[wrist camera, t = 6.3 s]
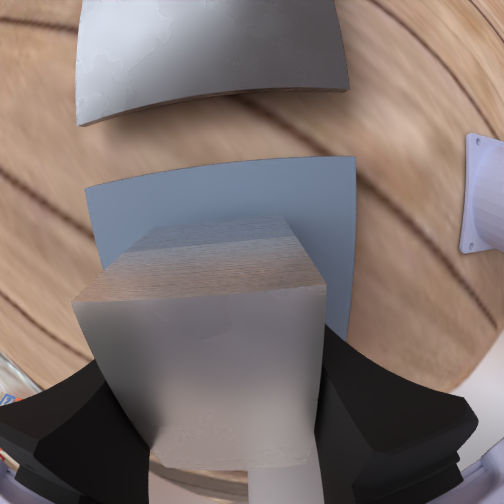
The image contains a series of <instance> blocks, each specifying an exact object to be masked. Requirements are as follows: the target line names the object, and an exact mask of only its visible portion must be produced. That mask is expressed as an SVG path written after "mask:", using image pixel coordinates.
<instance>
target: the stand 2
mask: <svg viewBox="0 0 504 504" xmlns="http://www.w3.org/2000/svg"><path fill="white" fill-rule="evenodd" d="M85 194H86V200H87V205H88V210H89V215H90V219H91V224H92V228H93V232H94V237H95V241H96V245H97V248H98V252H99V256H100V259H101V263H102V266H103V270H105V269H106V268H107V267H108V266H109V265H110V264H111V263H112V262H113V261H115V260H116V259H117V258H118V257H119V256H120V255H121V254H122V253H124V252H125V251H126V250H127V249H128V248H129V247H131V246H132V245H133V244H134V243H135V242H136V241H138V240H139V239H140V238H141V237H142V236H143V235H145V234H146V233H147V232H148V231H149V230H151V229H152V228H154V227H162V226H170V225H178V224H186V223H195V222H204V221H213V220H223V219H233V218H243V217H254V216H265V215H276V214H281V215H282V217H283V218H284V220H285V221H286V223H287V224H288V225H289V227H290V228H291V230H292V231H293V233H294V234H295V236H296V237H297V239H298V240H299V242H300V244H301V245H302V247H303V248H304V250H305V251H306V253H307V254H308V256H309V257H310V259H311V260H312V262H313V264H314V265H315V267H316V268H317V270H318V271H319V273H320V274H321V276H322V278H323V279H324V281H325V282H326V284H327V286H326V311H325V324H326V325H327V326H328V327H329V328H331V329H332V330H333V331H334V332H335V333H336V334H337V335H338V336H339V337H341V338H342V339H343V340H344V341H345V342H346V337H347V329H348V322H349V313H350V304H351V295H352V284H353V271H354V256H355V235H356V162H355V157H353V156H314V157H290V158H273V159H260V160H248V161H238V162H228V163H219V164H211V165H203V166H196V167H189V168H182V169H176V170H169V171H163V172H158V173H152V174H146V175H141V176H136V177H131V178H126V179H121V180H117V181H112V182H108V183H103V184H99V185H95V186H91V187H88V188H85Z"/></svg>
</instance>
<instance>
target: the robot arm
mask: <svg viewBox="0 0 504 504" xmlns="http://www.w3.org/2000/svg"><path fill="white" fill-rule="evenodd" d="M476 140H477V143H476ZM469 245H470V246H469ZM490 249H497V250H499V251H501V252H503V253H504V142H503V141H499V140H496V139H493V138H489V137H486V136H482V135H478V134H475V133H468V134H467V136H466V190H465V204H464V215H463V224H462V231H461V238H460V245H459V250H460V251H461V252H462V253H463V254H467V253H473V252H479V251H485V250H490ZM477 426H478V418H477V416H476V415H475V413H474V412H473V410H472V409H471V407H470V406H469V404H468V403H467V401H466V400H465V399H464V397H459V396H455V395H451V394H447V393H443V392H439V391H436V390H432V389H430V388H427V387H424V386H421V385H418V384H416V383H413V382H411V381H409V380H406V379H404V378H402V377H400V376H398V375H396V374H394V373H392V372H390V371H388V370H386V369H384V368H383V367H381V366H379V365H378V364H376V363H374V362H373V361H371V360H370V359H368V358H366V357H365V356H363V355H362V354H361V353H359V352H358V351H357V350H355V349H354V348H353V347H351V346H350V345H349V344H348V343H346V342H345V341H344V340H343V339H342V338H341V337H339V336H338V335H337V334H336V333H335V332H334V331H333V330H332V329H331V328H329V327H328V326H327V325H326V324H325V329H324V343H323V356H322V367H321V377H320V387H319V395H318V404H317V411H316V419H315V426H314V436H315V442H316V447H317V453H318V460H319V466H320V473H321V480H322V488H323V496H324V504H504V438H502V439H501V440H500V441H499V442H497V443H496V444H495V445H494V446H493V447H492V448H490V449H489V450H488V451H487V452H486V453H485V454H484V455H483V456H482V457H481V459H479V460H478V461H476V462H475V463H473V464H472V465H470V466H469V467H467V468H466V469H464V470H463V471H461V472H460V470H459V469H458V466H457V464H456V463H457V462H459V461H460V457H459V455H458V453H457V450H458V449H459V448H460V447H461V446H462V445H463V444H464V443H465V442H466V440H468V438H469V437H470V436H471V435H472V433H473V432H474V431H475V430H476V428H477ZM0 448H1V449H2V450H3V451H4V452H5V453H7V454H8V455H9V456H10V457H11V458H12V459H13V460H14V461H16V462H17V463H18V464H19V468H18V470H17V472H16V471H15V470H13V469H12V468H10V467H9V466H7V464H6V463H5V462H3V461H2V460H1V459H0V504H149V496H148V472H149V456H150V448H149V446H148V445H147V444H146V442H145V441H144V440H143V438H142V437H141V435H140V434H139V432H138V431H137V430H136V428H135V427H134V425H133V424H132V422H131V421H130V419H129V418H128V416H127V415H126V413H125V411H124V410H123V408H122V407H121V405H120V403H119V402H118V400H117V398H116V397H115V395H114V393H113V392H112V390H111V388H110V386H109V385H108V383H107V381H106V379H105V377H104V375H103V373H102V372H101V370H100V368H99V366H98V364H97V362H96V360H95V359H94V360H93V361H92V362H90V363H89V364H88V365H86V366H85V367H84V368H82V369H81V370H79V371H78V372H76V373H75V374H73V375H72V376H70V377H69V378H67V379H65V380H64V381H62V382H60V383H58V384H56V385H54V386H53V387H51V388H49V389H47V390H45V391H43V392H40V393H38V394H36V395H33V396H31V397H28V398H26V399H23V400H20V401H17V402H13V403H10V404H6V405H2V406H0Z"/></svg>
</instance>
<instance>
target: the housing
mask: <svg viewBox="0 0 504 504" xmlns="http://www.w3.org/2000/svg"><path fill="white" fill-rule="evenodd" d="M326 286H327V284H326V282H325V281H324V279H323V278H322V276H321V274H320V273H319V271H318V270H317V268H316V267H315V265H314V264H313V262H312V260H311V259H310V257H309V256H308V254H307V253H306V251H305V250H304V248H303V247H302V245H301V244H300V242H299V240H298V239H297V237H296V236H295V234H294V233H293V231H292V230H291V228H290V227H289V225H288V224H287V223H286V221H285V220H284V218H283V217H282V215H281V214H276V215H265V216H254V217H243V218H233V219H223V220H213V221H204V222H195V223H186V224H178V225H170V226H162V227H154V228H152V229H151V230H149V231H148V232H147V233H146V234H145V235H143V236H142V237H141V238H140V239H139V240H138V241H136V242H135V243H134V244H133V245H132V246H131V247H129V248H128V249H127V250H126V251H125V252H124V253H122V254H121V255H120V256H119V257H118V258H117V259H116V260H115V261H113V262H112V263H111V264H110V265H109V266H108V267H107V268H106V269H105V270H104V271H102V272H101V273H100V274H99V275H98V276H97V277H96V278H95V279H94V280H93V281H92V282H91V283H90V284H89V285H88V286H87V287H86V288H84V289H83V290H82V291H81V292H80V293H79V294H78V295H77V296H76V297H75V298H74V299H73V300H72V301H71V304H72V307H73V310H74V312H75V315H76V317H77V320H78V322H79V325H80V327H81V329H82V332H83V334H84V336H85V339H86V341H87V343H88V345H89V347H90V349H91V352H92V354H93V356H94V358H95V360H96V362H97V364H98V366H99V368H100V370H101V372H102V373H103V375H104V377H105V379H106V381H107V383H108V385H109V386H110V388H111V390H112V392H113V393H114V395H115V397H116V398H117V400H118V402H119V403H120V405H121V407H122V408H123V410H124V411H125V413H126V415H127V416H128V418H129V419H130V421H131V422H132V424H133V425H134V427H135V428H136V430H137V431H138V432H139V434H140V435H141V437H142V438H143V440H144V441H145V442H146V444H147V445H148V446H149V448H150V449H151V450H152V452H153V453H154V454H155V455H156V457H157V458H158V459H159V461H160V462H161V463H162V464H163V465H164V467H169V468H179V469H193V470H254V469H268V468H278V467H287V466H294V465H301V464H308V462H309V457H310V451H311V445H312V439H313V432H314V426H315V419H316V411H317V404H318V395H319V387H320V377H321V367H322V356H323V343H324V329H325V311H326Z"/></svg>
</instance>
